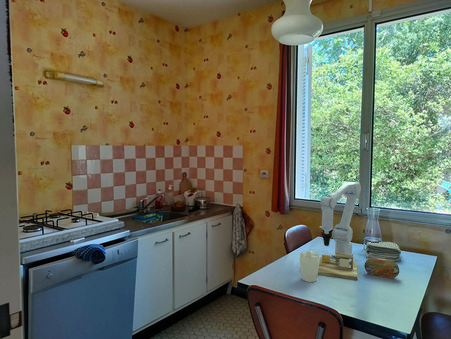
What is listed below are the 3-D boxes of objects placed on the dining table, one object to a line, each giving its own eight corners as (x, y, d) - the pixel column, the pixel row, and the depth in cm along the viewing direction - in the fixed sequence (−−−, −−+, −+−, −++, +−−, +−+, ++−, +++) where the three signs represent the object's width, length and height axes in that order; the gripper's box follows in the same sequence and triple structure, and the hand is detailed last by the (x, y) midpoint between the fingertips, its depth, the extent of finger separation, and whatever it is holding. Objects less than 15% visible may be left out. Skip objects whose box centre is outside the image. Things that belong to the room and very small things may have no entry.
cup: (308, 284, 138) (309, 258, 137) (295, 277, 146) (295, 252, 145) (323, 281, 142) (324, 255, 141) (309, 274, 150) (310, 250, 149)
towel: (401, 262, 168) (402, 248, 167) (364, 257, 175) (365, 244, 175) (398, 254, 181) (399, 241, 181) (364, 250, 189) (365, 237, 189)
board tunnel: (319, 259, 171) (319, 246, 170) (356, 264, 164) (356, 250, 163) (315, 273, 150) (315, 258, 150) (357, 280, 143) (358, 264, 143)
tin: (364, 274, 151) (364, 257, 150) (364, 272, 153) (364, 255, 153) (399, 280, 144) (399, 262, 143) (398, 278, 146) (399, 260, 146)
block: (339, 263, 159) (339, 255, 159) (348, 264, 158) (348, 256, 157) (339, 265, 155) (339, 258, 155) (348, 267, 154) (349, 259, 154)
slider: (322, 261, 164) (322, 254, 163) (350, 264, 158) (350, 257, 158) (321, 264, 158) (321, 257, 158) (350, 268, 153) (350, 261, 153)
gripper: (320, 215, 173) (320, 239, 174) (318, 221, 159) (318, 246, 160) (333, 216, 170) (333, 240, 171) (333, 222, 157) (332, 248, 157)
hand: (326, 243), depth 165 cm, fingers open, 7 cm apart
